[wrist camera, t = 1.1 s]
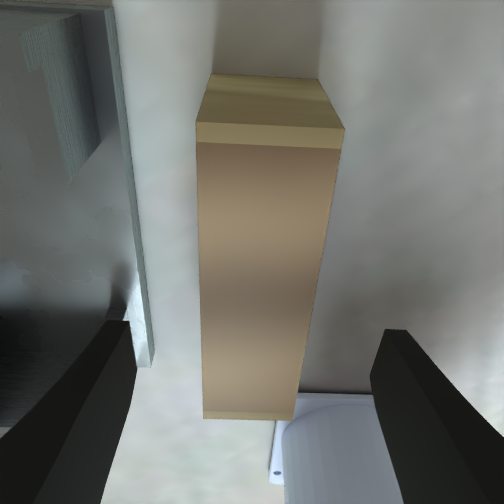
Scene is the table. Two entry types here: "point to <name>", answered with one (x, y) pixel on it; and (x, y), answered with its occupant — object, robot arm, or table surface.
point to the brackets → (63, 198)
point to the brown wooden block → (261, 236)
